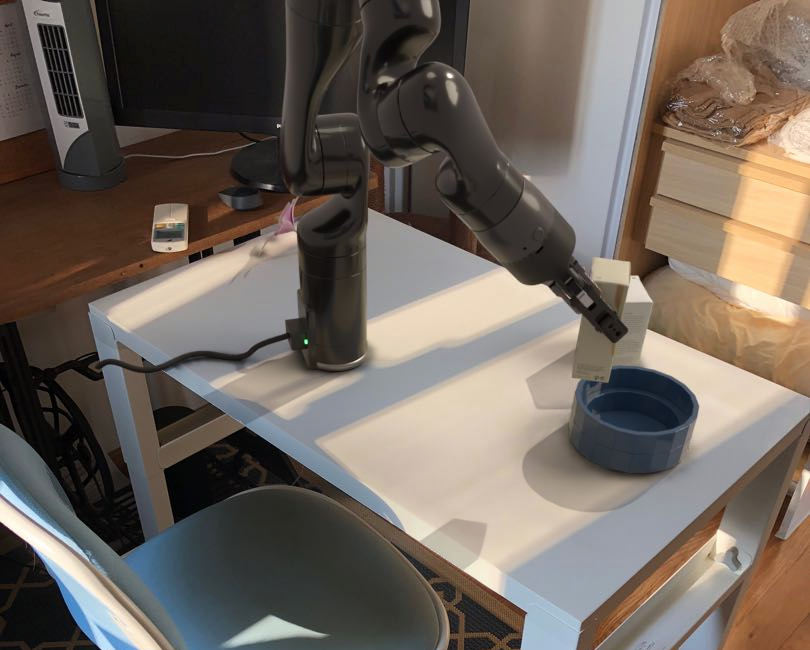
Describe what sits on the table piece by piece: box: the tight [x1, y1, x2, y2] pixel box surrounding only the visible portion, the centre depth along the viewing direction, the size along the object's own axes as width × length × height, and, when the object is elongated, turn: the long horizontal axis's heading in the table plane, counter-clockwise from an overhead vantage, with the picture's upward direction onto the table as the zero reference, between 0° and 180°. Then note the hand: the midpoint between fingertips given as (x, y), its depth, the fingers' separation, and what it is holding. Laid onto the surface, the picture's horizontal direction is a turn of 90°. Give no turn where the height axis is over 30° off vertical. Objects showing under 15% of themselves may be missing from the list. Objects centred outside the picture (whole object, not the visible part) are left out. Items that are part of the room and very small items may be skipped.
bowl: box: [567, 365, 700, 474], centre depth 118 cm, size 15×15×6 cm
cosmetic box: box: [571, 256, 632, 383], centre depth 103 cm, size 6×4×12 cm
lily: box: [258, 196, 299, 255], centre depth 156 cm, size 12×12×10 cm
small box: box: [612, 275, 654, 367], centre depth 132 cm, size 8×6×10 cm
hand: (604, 318), depth 103 cm, fingers closed on cosmetic box, 7 cm apart
